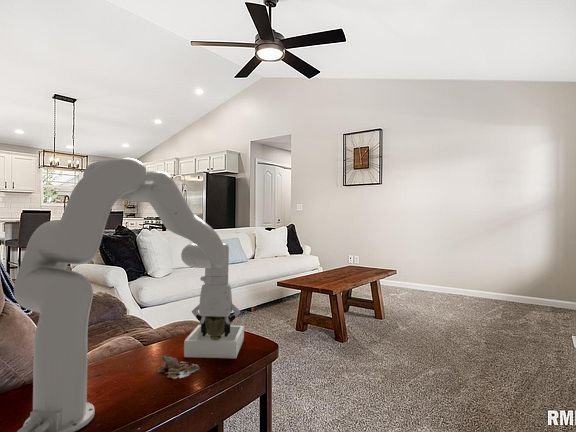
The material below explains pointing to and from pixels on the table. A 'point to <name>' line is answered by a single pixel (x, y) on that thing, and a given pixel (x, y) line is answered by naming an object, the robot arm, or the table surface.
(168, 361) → the frog figurine
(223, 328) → the embossed bronze vase
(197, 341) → the bin
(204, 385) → the table surface
